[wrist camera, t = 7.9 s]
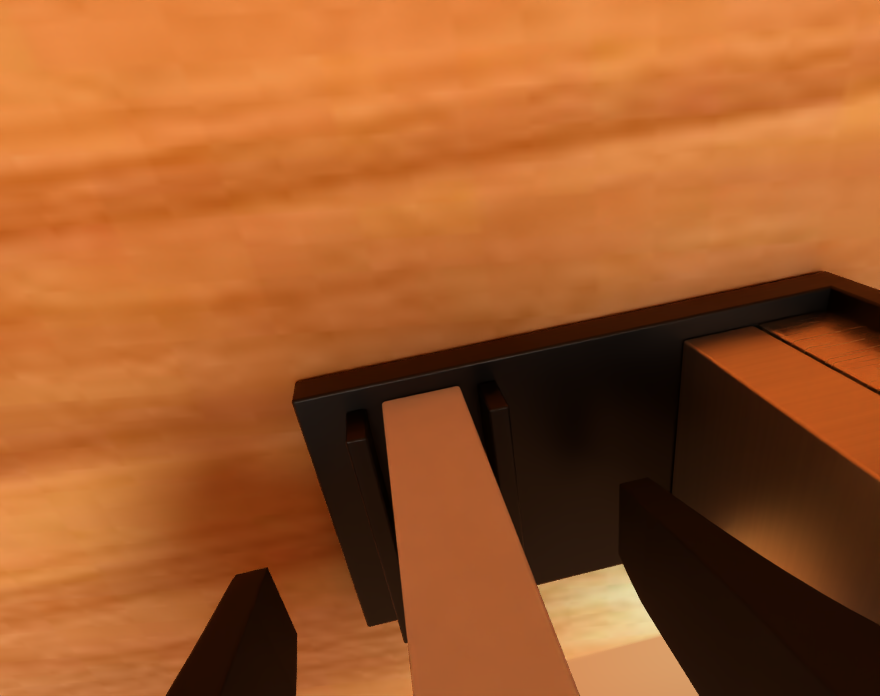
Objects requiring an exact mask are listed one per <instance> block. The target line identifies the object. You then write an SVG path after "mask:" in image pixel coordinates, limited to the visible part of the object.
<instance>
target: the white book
mask: <svg viewBox="0 0 880 696" xmlns="http://www.w3.org/2000/svg"><path fill="white" fill-rule="evenodd" d="M382 410H383V419H384V428H385V438H386V447H387V456H388V466H389V475H390V484H391V493H392V503H393V512H394V521H395V530H396V540H397V549H398V558H399V567H400V577H401V586H402V595H403V605H404V614H405V623H406V632H407V642H408V651H409V660H410V669H411V679H412V688H413V696H580V695H579V692H578V690H577V687H576V685H575V682H574V680H573V677H572V674H571V672H570V669H569V667H568V664H567V661H566V659H565V656H564V654H563V651H562V649H561V646H560V644H559V641H558V638H557V636H556V633H555V631H554V628H553V626H552V623H551V620H550V618H549V615H548V613H547V610H546V608H545V605H544V602H543V600H542V597H541V595H540V592H539V590H538V587H537V584H536V582H535V579H534V577H533V574H532V572H531V569H530V566H529V564H528V561H527V559H526V556H525V554H524V551H523V548H522V546H521V543H520V541H519V538H518V536H517V533H516V530H515V528H514V525H513V523H512V520H511V518H510V515H509V512H508V510H507V507H506V505H505V502H504V500H503V497H502V495H501V492H500V489H499V487H498V484H497V482H496V479H495V477H494V474H493V471H492V469H491V466H490V464H489V461H488V459H487V456H486V453H485V451H484V448H483V446H482V443H481V441H480V438H479V435H478V433H477V430H476V428H475V425H474V423H473V420H472V417H471V415H470V412H469V410H468V407H467V405H466V402H465V399H464V397H463V394H462V392H461V389H460V388H459V386H454V387H450V388H445V389H440V390H436V391H431V392H426V393H422V394H417V395H412V396H408V397H403V398H399V399H394V400H389V401H385V402H383V403H382Z"/></svg>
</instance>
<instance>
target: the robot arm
mask: <svg viewBox="0 0 880 696" xmlns="http://www.w3.org/2000/svg"><path fill="white" fill-rule="evenodd" d="M618 554H619V557H620V559H621V561H622V563H623V565H624V567H625V569H626V572H627V574H628V576H629V578H630V580H631V582H632V584H633V586H634V588H635V590H636V592H637V594H638V596H639V598H640V600H641V602H642V604H643V606H644V607H645V609H646V611H647V612H648V614H649V616H650V617H651V619H652V621H653V622H654V624H655V625H656V627H657V629H658V630H659V632H660V634H661V635H662V637H663V638H664V640H665V641H666V643H667V645H668V646H669V648H670V649H671V651H672V653H673V654H674V656H675V658H676V659H677V661H678V662H679V664H680V666H681V667H682V669H683V670H684V672H685V674H686V675H687V677H688V678H689V680H690V682H691V683H692V685H693V686H694V688H695V690H696V691H697V693H698V694H699V696H880V625H879V624H877V623H875V622H873V621H871V620H870V619H868V618H866V617H864V616H862V615H860V614H858V613H857V612H855V611H853V610H851V609H849V608H847V607H846V606H844V605H842V604H840V603H839V602H837V601H835V600H833V599H831V598H830V597H828V596H826V595H825V594H823V593H821V592H819V591H818V590H816V589H815V588H813V587H811V586H810V585H808V584H806V583H805V582H803V581H801V580H800V579H798V578H796V577H795V576H793V575H791V574H790V573H788V572H786V571H785V570H783V569H782V568H780V567H779V566H777V565H775V564H774V563H772V562H771V561H769V560H768V559H766V558H764V557H763V556H761V555H760V554H758V553H757V552H755V551H754V550H752V549H751V548H749V547H748V546H746V545H745V544H743V543H742V542H740V541H739V540H737V539H736V538H734V537H733V536H731V535H730V534H728V533H727V532H725V531H724V530H722V529H721V528H720V527H718V526H717V525H715V524H714V523H712V522H711V521H709V520H708V519H707V518H705V517H704V516H702V515H701V514H699V513H698V512H697V511H695V510H694V509H692V508H691V507H690V506H688V505H687V504H685V503H684V502H683V501H681V500H680V499H678V498H677V497H676V496H674V495H673V494H671V493H670V492H668V491H667V490H666V489H664V488H663V487H661V486H660V485H659V484H657V483H656V482H654V481H653V480H651V479H650V478H648V477H646V478H642V479H638V480H634V481H629V482H625V483H621V484H620V485H619V544H618ZM296 680H297V633H296V630H295V628H294V626H293V624H292V621H291V619H290V617H289V615H288V612H287V610H286V608H285V606H284V603H283V601H282V599H281V597H280V594H279V592H278V590H277V588H276V585H275V583H274V581H273V579H272V576H271V574H270V572H269V570H268V567H267V568H263V569H259V570H254V571H250V572H246V573H242V574H238V575H235V577H234V578H233V579H232V581H231V583H230V584H229V586H228V588H227V590H226V592H225V593H224V595H223V597H222V599H221V601H220V602H219V604H218V606H217V608H216V610H215V611H214V613H213V615H212V617H211V619H210V620H209V622H208V624H207V626H206V627H205V629H204V631H203V633H202V634H201V636H200V638H199V640H198V641H197V643H196V645H195V647H194V648H193V650H192V652H191V654H190V655H189V657H188V659H187V660H186V662H185V664H184V666H183V667H182V669H181V671H180V672H179V674H178V676H177V677H176V679H175V681H174V682H173V684H172V686H171V687H170V689H169V691H168V692H167V694H166V696H296Z"/></svg>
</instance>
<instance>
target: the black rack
mask: <svg viewBox="0 0 880 696" xmlns="http://www.w3.org/2000/svg"><path fill="white" fill-rule="evenodd" d="M454 386H459V388H460V389H461V392H462V394H463V397H464V399H465V402H466V405H467V407H468V410H469V412H470V415H471V417H472V420H473V423H474V425H475V428H476V430H477V433H478V435H479V438H480V441H481V443H482V446H483V448H484V451H485V453H486V456H487V459H488V461H489V464H490V466H491V469H492V471H493V474H494V477H495V479H496V482H497V484H498V487H499V489H500V492H501V495H502V497H503V500H504V502H505V505H506V507H507V510H508V512H509V515H510V518H511V520H512V523H513V525H514V528H515V530H516V533H517V536H518V538H519V541H520V543H521V546H522V548H523V551H524V554H525V556H526V559H527V561H528V564H529V566H530V569H531V572H532V574H533V577H534V579H535V582H536V584H537V585H540V584H544V583H548V582H552V581H556V580H560V579H564V578H568V577H572V576H576V575H580V574H584V573H588V572H592V571H596V570H600V569H604V568H608V567H612V566H616V565H620V564H623V563H622V561H621V559H620V557H619V554H618V544H619V485H620V484H621V483H625V482H629V481H634V480H638V479H642V478H646V477H648V478H650V479H651V480H653V481H654V482H656V483H657V484H659V485H660V486H661V487H663V488H664V489H666V490H667V491H668V492H670V493H671V494H673V495H674V496H676V497H677V498H678V499H680V500H681V501H683V502H684V503H685V504H687V505H688V506H690V507H691V508H692V509H694V510H695V511H697V512H698V513H699V514H701V515H702V516H704V517H705V518H707V519H708V520H709V521H711V522H712V523H714V524H715V525H717V526H718V527H720V528H721V529H722V530H724V531H725V532H727V533H728V534H730V535H731V536H733V537H734V538H736V539H737V540H739V541H740V542H742V543H743V544H745V545H746V546H748V547H749V548H751V549H752V550H754V551H755V552H757V553H758V554H760V555H761V556H763V557H764V558H766V559H768V560H769V561H771V562H772V563H774V564H775V565H777V566H779V567H780V568H782V569H783V570H785V571H786V572H788V573H790V574H791V575H793V576H795V577H796V578H798V579H800V580H801V581H803V582H805V583H806V584H808V585H810V586H811V587H813V588H815V589H816V590H818V591H819V592H821V593H823V594H825V595H826V596H828V597H830V598H831V599H833V600H835V601H837V602H839V603H840V604H842V605H844V606H846V607H847V608H849V609H851V610H853V611H855V612H857V613H858V614H860V615H862V616H864V617H866V618H868V619H870V620H871V621H873V622H875V623H877V624H879V625H880V290H877V289H875V288H872V287H869V286H866V285H863V284H860V283H857V282H855V281H852V280H849V279H846V278H843V277H840V276H837V275H834V274H832V273H829V272H820V273H815V274H810V275H806V276H801V277H796V278H791V279H786V280H782V281H777V282H772V283H767V284H763V285H758V286H753V287H748V288H744V289H739V290H734V291H729V292H725V293H720V294H715V295H710V296H705V297H701V298H696V299H691V300H686V301H682V302H677V303H672V304H667V305H663V306H658V307H653V308H648V309H643V310H639V311H634V312H629V313H624V314H620V315H615V316H610V317H605V318H601V319H596V320H591V321H586V322H581V323H577V324H572V325H567V326H562V327H558V328H553V329H548V330H543V331H539V332H534V333H529V334H524V335H519V336H515V337H510V338H505V339H500V340H496V341H491V342H486V343H481V344H477V345H472V346H467V347H462V348H458V349H453V350H448V351H443V352H438V353H434V354H429V355H424V356H419V357H415V358H410V359H405V360H400V361H396V362H391V363H386V364H381V365H376V366H372V367H367V368H362V369H357V370H353V371H348V372H343V373H338V374H334V375H329V376H324V377H319V378H314V379H310V380H305V381H300V382H297V383H296V384H295V389H294V394H293V400H292V404H293V407H294V410H295V413H296V416H297V419H298V422H299V425H300V428H301V431H302V434H303V436H304V439H305V442H306V445H307V448H308V451H309V454H310V457H311V460H312V463H313V466H314V469H315V472H316V475H317V478H318V481H319V484H320V487H321V490H322V493H323V495H324V498H325V501H326V504H327V507H328V510H329V513H330V516H331V519H332V522H333V525H334V528H335V531H336V534H337V537H338V540H339V543H340V546H341V549H342V552H343V554H344V557H345V560H346V563H347V566H348V569H349V572H350V575H351V578H352V581H353V584H354V587H355V590H356V593H357V596H358V599H359V602H360V605H361V608H362V611H363V613H364V616H365V619H366V622H367V625H368V626H369V627H371V626H375V625H379V624H383V623H387V622H391V621H395V620H398V623H399V626H400V630H401V633H402V636H403V640H404V642H405V643H408V642H407V632H406V623H405V614H404V605H403V595H402V586H401V577H400V567H399V558H398V549H397V540H396V530H395V521H394V512H393V503H392V493H391V484H390V475H389V466H388V456H387V447H386V438H385V428H384V419H383V410H382V403H383V402H385V401H389V400H394V399H399V398H403V397H408V396H412V395H417V394H422V393H426V392H431V391H436V390H440V389H445V388H450V387H454Z"/></svg>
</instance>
